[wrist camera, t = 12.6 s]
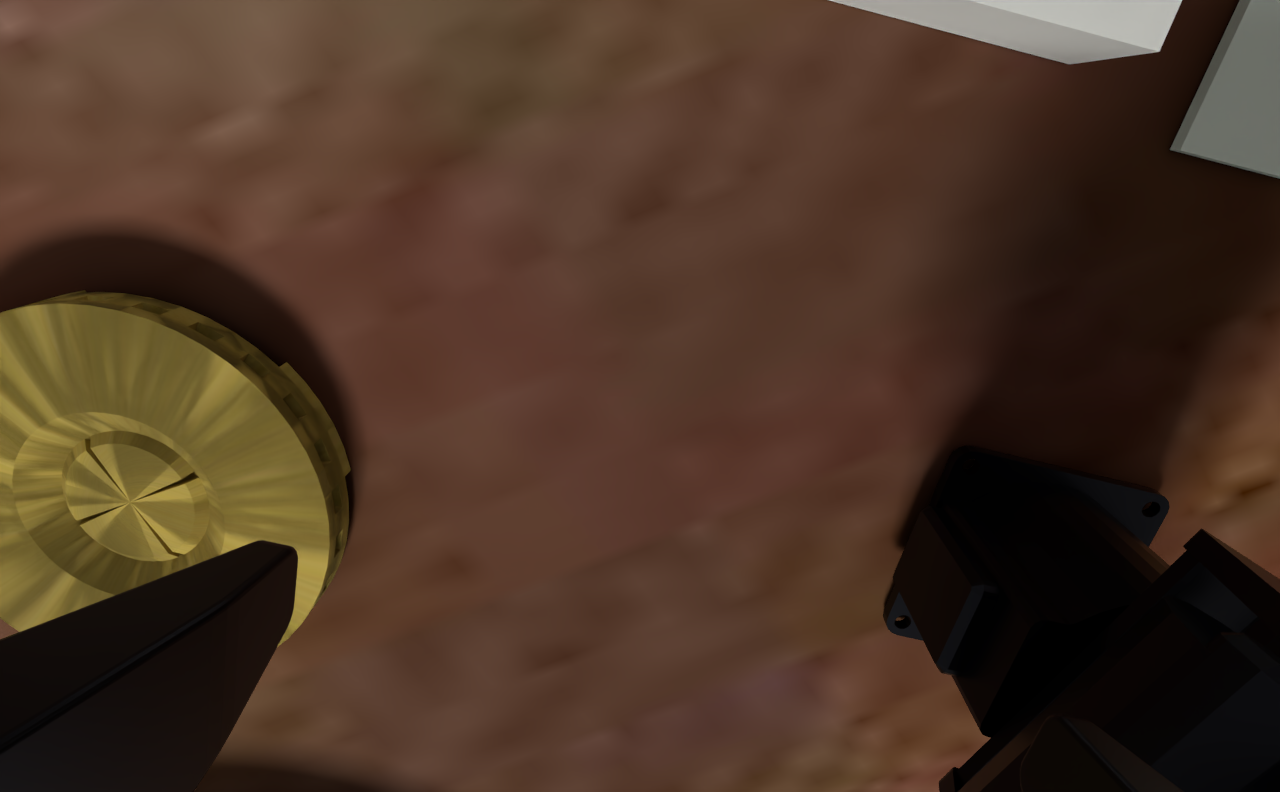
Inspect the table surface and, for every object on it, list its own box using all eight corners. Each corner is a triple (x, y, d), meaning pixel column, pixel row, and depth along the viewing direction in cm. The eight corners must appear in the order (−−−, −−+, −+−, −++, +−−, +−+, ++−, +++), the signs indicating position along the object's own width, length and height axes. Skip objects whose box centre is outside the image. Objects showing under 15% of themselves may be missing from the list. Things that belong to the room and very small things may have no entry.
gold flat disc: (313, 677, 26) (283, 725, 24) (-39, 566, 25) (-103, 607, 23) (400, 373, 22) (373, 399, 20) (-17, 222, 21) (-91, 234, 19)
